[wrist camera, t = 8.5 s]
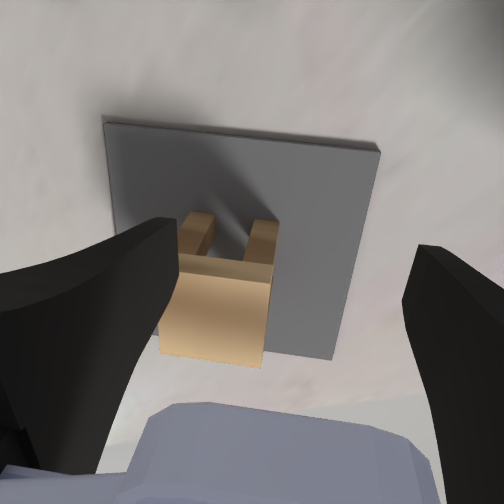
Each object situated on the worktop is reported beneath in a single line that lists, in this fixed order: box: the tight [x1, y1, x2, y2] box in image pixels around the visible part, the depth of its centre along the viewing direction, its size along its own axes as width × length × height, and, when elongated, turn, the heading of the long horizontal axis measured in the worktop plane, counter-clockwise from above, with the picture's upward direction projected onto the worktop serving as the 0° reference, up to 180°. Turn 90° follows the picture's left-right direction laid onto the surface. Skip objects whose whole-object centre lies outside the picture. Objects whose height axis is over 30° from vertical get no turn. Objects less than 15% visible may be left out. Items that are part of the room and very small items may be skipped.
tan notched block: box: [158, 211, 280, 368], centre depth 21 cm, size 5×5×6 cm
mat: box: [103, 122, 381, 361], centre depth 24 cm, size 14×14×1 cm
